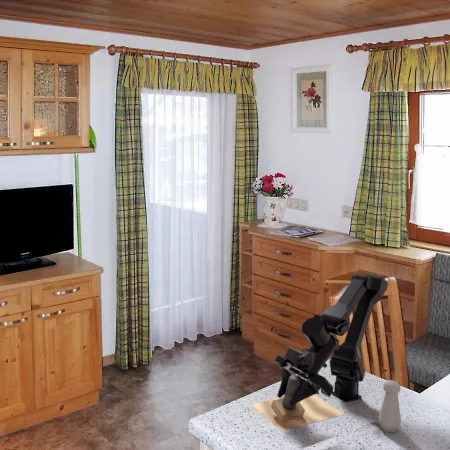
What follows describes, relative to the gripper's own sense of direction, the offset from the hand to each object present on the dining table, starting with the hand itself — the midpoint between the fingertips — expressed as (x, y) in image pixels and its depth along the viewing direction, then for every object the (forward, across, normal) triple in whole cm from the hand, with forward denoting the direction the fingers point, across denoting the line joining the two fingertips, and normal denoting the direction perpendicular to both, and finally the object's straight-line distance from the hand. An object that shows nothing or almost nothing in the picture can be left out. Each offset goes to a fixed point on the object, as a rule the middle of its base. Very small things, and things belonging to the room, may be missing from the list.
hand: (284, 400), depth 153 cm
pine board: (0, -4, +11) cm, 11 cm away
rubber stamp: (+1, -3, +6) cm, 7 cm away
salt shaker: (-12, +15, +22) cm, 29 cm away
